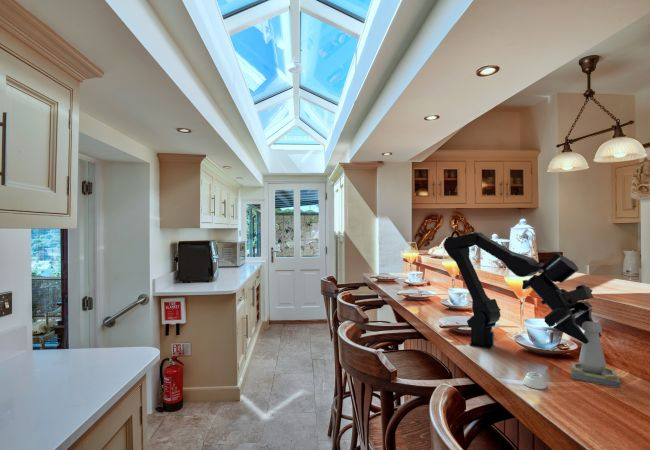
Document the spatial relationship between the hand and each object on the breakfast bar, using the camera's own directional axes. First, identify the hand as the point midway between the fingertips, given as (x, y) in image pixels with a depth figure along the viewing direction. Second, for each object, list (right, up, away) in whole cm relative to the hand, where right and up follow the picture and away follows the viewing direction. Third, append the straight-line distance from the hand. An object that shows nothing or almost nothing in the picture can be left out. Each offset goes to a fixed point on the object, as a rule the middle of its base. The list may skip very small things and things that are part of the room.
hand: (593, 339), depth 96 cm
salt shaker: (0, -9, 0) cm, 9 cm away
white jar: (-20, -10, -6) cm, 23 cm away
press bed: (0, -10, 0) cm, 10 cm away
